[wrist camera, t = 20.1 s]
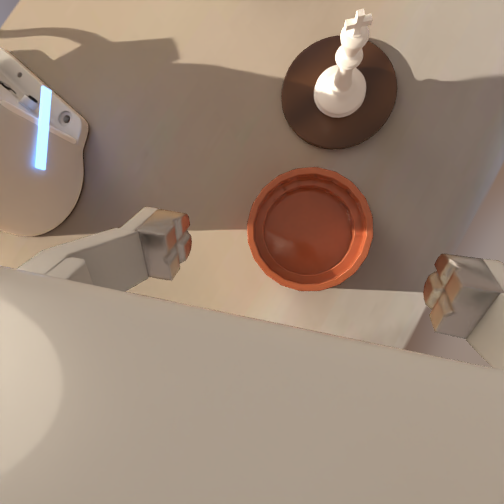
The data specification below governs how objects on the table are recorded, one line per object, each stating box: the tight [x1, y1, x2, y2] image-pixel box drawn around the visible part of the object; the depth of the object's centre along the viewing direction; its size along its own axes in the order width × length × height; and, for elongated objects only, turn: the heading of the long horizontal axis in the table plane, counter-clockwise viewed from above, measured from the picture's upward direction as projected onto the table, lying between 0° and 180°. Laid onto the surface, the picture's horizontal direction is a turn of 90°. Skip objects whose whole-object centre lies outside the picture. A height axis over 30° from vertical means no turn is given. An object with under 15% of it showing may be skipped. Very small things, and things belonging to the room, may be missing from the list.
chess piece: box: [314, 9, 372, 118], centre depth 24 cm, size 5×5×10 cm
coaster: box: [282, 36, 397, 149], centre depth 30 cm, size 11×11×1 cm
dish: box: [247, 167, 373, 291], centre depth 29 cm, size 11×11×3 cm
